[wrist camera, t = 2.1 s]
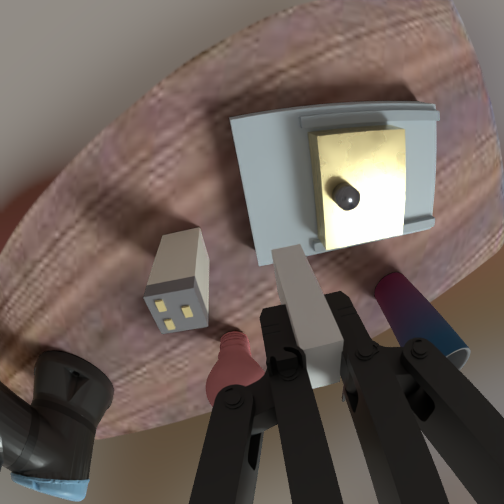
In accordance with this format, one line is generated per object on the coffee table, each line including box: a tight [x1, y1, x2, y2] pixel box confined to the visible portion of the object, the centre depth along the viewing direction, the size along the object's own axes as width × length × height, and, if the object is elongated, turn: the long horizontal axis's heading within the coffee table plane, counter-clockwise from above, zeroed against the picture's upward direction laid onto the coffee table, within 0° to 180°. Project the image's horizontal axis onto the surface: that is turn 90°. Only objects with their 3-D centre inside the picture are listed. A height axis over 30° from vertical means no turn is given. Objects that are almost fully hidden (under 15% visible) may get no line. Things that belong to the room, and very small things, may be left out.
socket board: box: [229, 101, 440, 266], centre depth 26 cm, size 20×14×4 cm
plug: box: [143, 227, 209, 334], centre depth 26 cm, size 4×4×10 cm
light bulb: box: [206, 331, 265, 407], centre depth 32 cm, size 7×7×12 cm
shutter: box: [307, 125, 406, 250], centre depth 23 cm, size 8×10×4 cm
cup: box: [375, 272, 470, 370], centre depth 30 cm, size 7×7×15 cm
